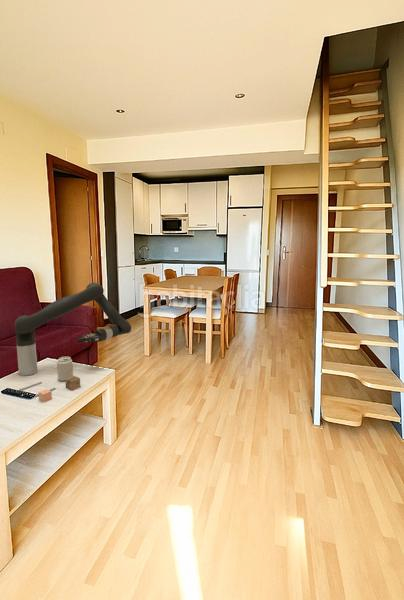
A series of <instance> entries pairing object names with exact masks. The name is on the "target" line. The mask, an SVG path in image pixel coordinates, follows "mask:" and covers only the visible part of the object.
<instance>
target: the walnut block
mask: <svg viewBox="0 0 404 600" xmlns="http://www.w3.org/2000/svg"><path fill="white" fill-rule="evenodd" d="M64 382H65V383H64V384H65V389H66V390H67V389H68V390H70V391H74V390H77V389H79V388H81V378H80V377H79V376H75V375H73V376H72V377H69V378H67V379H65V381H64Z"/></svg>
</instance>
